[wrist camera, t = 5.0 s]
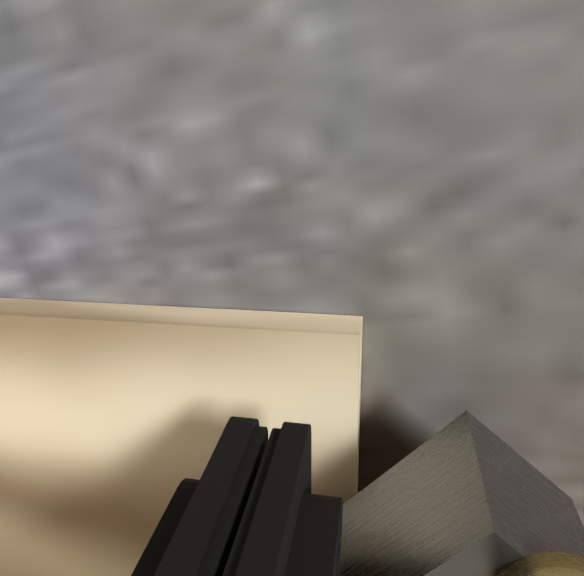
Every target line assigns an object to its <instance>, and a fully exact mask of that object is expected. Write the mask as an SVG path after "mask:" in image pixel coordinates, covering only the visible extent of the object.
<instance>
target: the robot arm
mask: <svg viewBox="0 0 584 576" xmlns="http://www.w3.org/2000/svg"><path fill="white" fill-rule="evenodd" d="M342 513H343V498H341V497H333V496H325V495H317V494H311V425H310V424H303V423H293V422H283V425H282V427H281V429H280V428H273V429H272V431H271V434H270V437H269V440H268V429H267V427H262V426H259V420H258V419H255V418H245V417H235V416H232V417H230V418H229V420H228V422H227V424H226V426H225V428H224V430H223V432H222V435H221V437H220V439H219V441H218V443H217V445H216V447H215V449H214V451H213V453H212V455H211V457H210V460H209V462H208V464H207V466H206V468H205V470H204V472H203V474H202V476H201V478H200V480H197V479H189V478H185V479H183V480H182V481H181V482H180V484H179V485H178V487H177V489H176V491H175V493H174V495H173V496H172V498H171V500H170V502H169V504H168V506H167V508H166V510H165V512H164V514H163V515H162V517H161V519H160V521H159V523H158V525H157V527H156V529H155V531H154V533H153V535H152V536H151V538H150V540H149V542H148V544H147V546H146V548H145V550H144V552H143V554H142V555H141V557H140V559H139V561H138V563H137V565H136V567H135V569H134V571H133V573H132V574H131V576H338V575H339V565H340V553H341V538H342Z"/></svg>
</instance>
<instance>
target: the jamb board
mask: <svg viewBox="0 0 584 576" xmlns="http://www.w3.org/2000/svg"><path fill="white" fill-rule="evenodd" d="M362 323H363V316H349V315H329V314H309V313H290V312H270V311H250V310H231V309H211V308H191V307H171V306H152V305H132V304H112V303H93V302H73V301H53V300H34V299H14V298H0V576H131V574H132V573H133V571H134V569H135V567H136V565H137V563H138V561H139V559H140V557H141V555H142V554H143V552H144V550H145V548H146V546H147V544H148V542H149V540H150V538H151V536H152V535H153V533H154V531H155V529H156V527H157V525H158V523H159V521H160V519H161V517H162V515H163V514H164V512H165V510H166V508H167V506H168V504H169V502H170V500H171V498H172V496H173V495H174V493H175V491H176V489H177V487H178V485H179V484H180V482H181V481H182V480H183V479H185V478H189V479H197V480H200V478H201V476H202V474H203V472H204V470H205V468H206V466H207V464H208V462H209V460H210V457H211V455H212V453H213V451H214V449H215V447H216V445H217V443H218V441H219V439H220V437H221V435H222V432H223V430H224V428H225V426H226V424H227V422H228V420H229V418H230V417H232V416H235V417H245V418H255V419H258V420H259V426H262V427H267V429H268V440H269V437H270V434H271V431H272V429H273V428H280V429H281V427H282V425H283V422H293V423H303V424H310V425H311V494H317V495H325V496H333V497H341V498H343V504H344V503H346V502H347V501H348V500H350V499H351V498H352V497H354V496H355V495H356V494H358V469H359V433H360V396H361V359H362Z"/></svg>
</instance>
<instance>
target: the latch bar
mask: <svg viewBox="0 0 584 576" xmlns="http://www.w3.org/2000/svg"><path fill="white" fill-rule="evenodd" d="M338 576H584V527H583V525H582V522H581V520H580V518H579V515H578V513H577V511H576V508H575V506H574V504H573V501H572V499H571V498H570V497H569V496H568V495H566V494H565V493H564V492H563V491H562V490H560V489H559V488H558V487H557V486H556V485H554V484H553V483H552V482H551V481H550V480H549V479H547V478H546V477H545V476H544V475H543V474H541V473H540V472H539V471H538V470H537V469H535V468H534V467H533V466H532V465H531V464H529V463H528V462H527V461H526V460H525V459H524V458H522V457H521V456H520V455H519V454H518V453H516V452H515V451H514V450H513V449H512V448H510V447H509V446H508V445H507V444H506V443H505V442H503V441H502V440H501V439H500V438H499V437H497V436H496V435H495V434H494V433H493V432H491V431H490V430H489V429H488V428H487V427H485V426H484V425H483V424H482V423H481V422H480V421H478V420H477V419H476V418H475V417H474V416H472V415H471V414H470V413H469V412H468V411H465V412H464V413H463V414H461V415H460V416H459V417H457V418H456V419H455V420H453V421H452V422H451V423H449V424H448V425H447V426H445V427H444V428H443V429H442V430H440V431H439V432H438V433H436V434H435V435H434V436H432V437H431V438H430V439H428V440H427V441H426V442H424V443H423V444H422V445H421V446H419V447H418V448H417V449H415V450H414V451H413V452H411V453H410V454H409V455H407V456H406V457H405V458H403V459H402V460H401V461H400V462H398V463H397V464H396V465H394V466H393V467H392V468H390V469H389V470H388V471H386V472H385V473H384V474H382V475H381V476H380V477H379V478H377V479H376V480H375V481H373V482H372V483H371V484H369V485H368V486H367V487H365V488H364V489H363V490H362V491H360V492H359V493H358V494H356V495H355V496H354V497H352V498H351V499H350V500H348V501H347V502H346V503H344V504H343V513H342V538H341V553H340V565H339V575H338Z"/></svg>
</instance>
